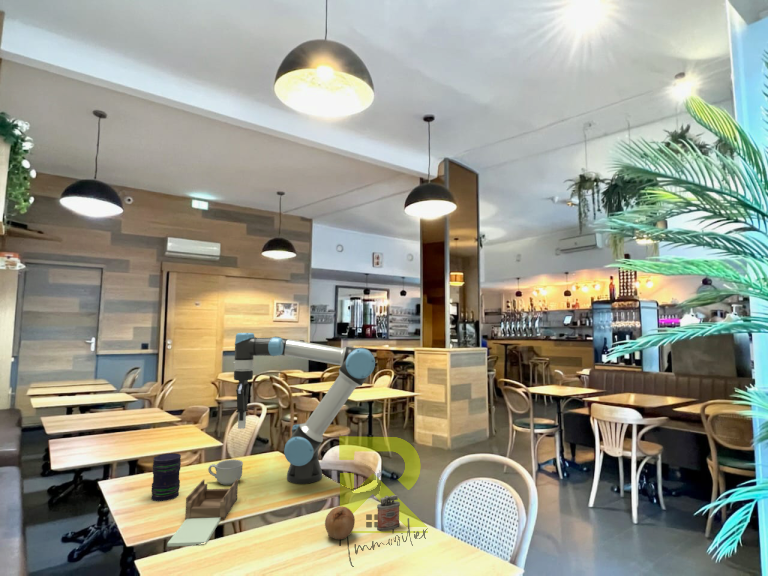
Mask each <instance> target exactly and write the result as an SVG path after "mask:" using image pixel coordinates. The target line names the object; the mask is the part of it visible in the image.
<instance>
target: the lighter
mask: <svg viewBox="0 0 768 576" xmlns="http://www.w3.org/2000/svg"><path fill="white" fill-rule="evenodd" d="M398 497H399V496H398V494H394V495H390V496H388V495H385V496H384V497H381V498H380V503H379V504H376V506H377V507H376V509H377V526H376V530H377V531H378V532H386V531H387V532H388V531H391V530H392V531H393V530H395V529H398V528H400V527H401V525H400V524H401V523H400V506H401V502H400V501H398V500H399V499H398Z"/></svg>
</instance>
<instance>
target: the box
mask: <svg viewBox="0 0 768 576" xmlns="http://www.w3.org/2000/svg"><path fill="white" fill-rule="evenodd" d="M238 487H239V480H238V479H236V480H235V482H234V483H233V484H231V485H230V486H229V488H209V489H208V483H205V479H202V480H201V481H200V482H199V483H198V484H197V486H196V487H195V488H193V490H192V491H191V492H190V493H189V494H188V496H186V497H185V514H184V515H185V518H184V521H185V520H186V519H190V518H217V517H221V520H220V521H224V520H226V518H227V516H228V515H229V514H230V511H232V508H233V507H234V505H235V504H236V502H237V501H238V493H239V492H238V491H239V490H238Z"/></svg>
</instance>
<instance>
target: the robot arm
mask: <svg viewBox="0 0 768 576" xmlns="http://www.w3.org/2000/svg"><path fill="white" fill-rule="evenodd" d="M254 356H255V357H258V356H264V357H267V356H268V357H270V356H271V357H277V356H279V357H280V356H286V357H291V358H296V359H303V360H309V361H314V362H320V363H323V364H324V363H325V364H331V365H336V366H340V367H339V369H338V374H339V375H338V376H337V377H336V379H335V381H334V382H333V383H332V385H331V386H330V388H329V389H328V391H327V392H326V394H325V395H324V396H323V398H322V399H321V400H320V402H319V403H318V404H317V406H316V407H315V409H314V410H313V411H312V413H311V415H310V416H309V417H308V419H307V420H306V421H305V422H304V423H303V422H302V423H297V424H296V423H295V424H293V425H292V429H291V437H290V438H289V439H288V440H287V441H286V443H285V445H284V451H283V452H284V457H285V459H286V461H287V462H288V463H289V467H288V471H287V473H286V480H287V482H289V483H293V484H299V485H302V484H304V485H305V484H312V483H316V482H319V481H320V480H321V479H322V477H323V471H322V468H321V464H320V460H319V447H320V445H321V444H322V443H323V441H324V437H323V435H324V433H325V432H326V431H327V430H328V428H329V426H330V425H331V424H332V423H333V421H334V419H335V418H336V417H337V415H338V413H339V412H341V410H342V408H343V406H344V405H345V404H346V402H347V401H348V399H349V398H350V396H351V395H352V393H353V392H354V391H355V389H356V388H358V387H362V385H363V384H364V383H365V381H366V380H367V379H368V377H369V376H371V375H372V373H373V372H374V370H375V366H376V359H375V356H374V353H372V351H371V350H369V349H368V348H367V347H351V346H345V347H343V348H342V347H338V346H337V347H336V346H333V345H331V346H330V345H326V344H320V343H313V342H308V341H307V342H306V341H302V340H296V339H290V338H285V337H284V338H283V337H280V336H273V337H255V333H253V332H238V333H236V335H235V340H234V361H233V362H232V364H233V365H234V367H233V369H234V371H233V380H234V381H237V382H238V384H237V385H236V390H235V392H236V413H238V416H237V429H238V430H239V429H240V430H241V429H246V426H247V425H246V423H247V422H246V419H247V412H249V408H248V403H249V402H248V401H249V392H250V391H249V390H250V384H249V382H248V381H252V380H253V378H254V371H253V369H254Z"/></svg>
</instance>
